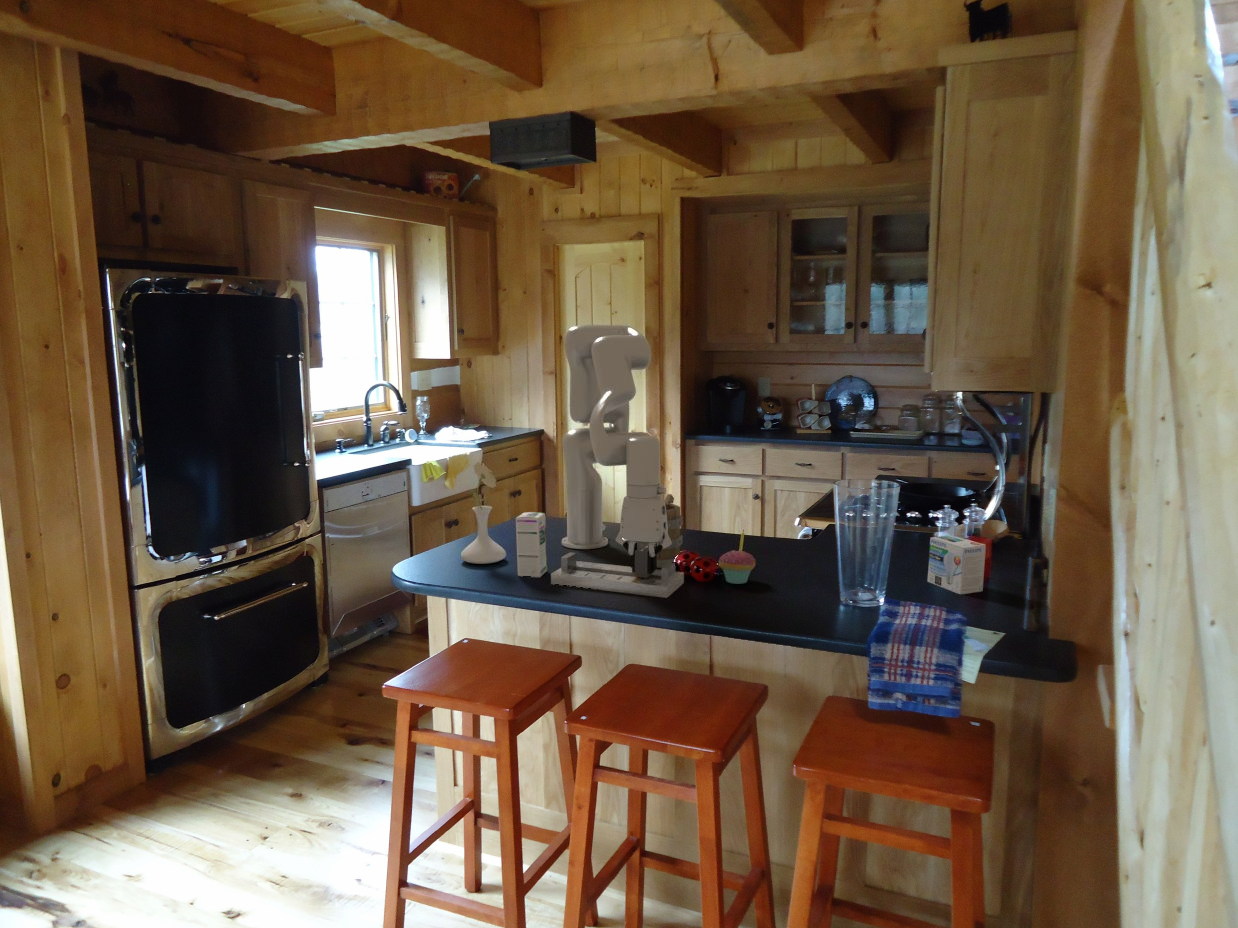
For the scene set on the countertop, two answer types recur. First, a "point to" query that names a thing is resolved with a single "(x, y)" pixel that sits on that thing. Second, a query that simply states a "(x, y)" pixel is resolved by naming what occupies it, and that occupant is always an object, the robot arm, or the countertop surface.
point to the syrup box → (531, 544)
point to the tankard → (670, 534)
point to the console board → (616, 577)
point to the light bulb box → (956, 564)
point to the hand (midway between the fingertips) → (643, 571)
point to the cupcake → (737, 564)
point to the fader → (642, 562)
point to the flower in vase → (483, 526)
